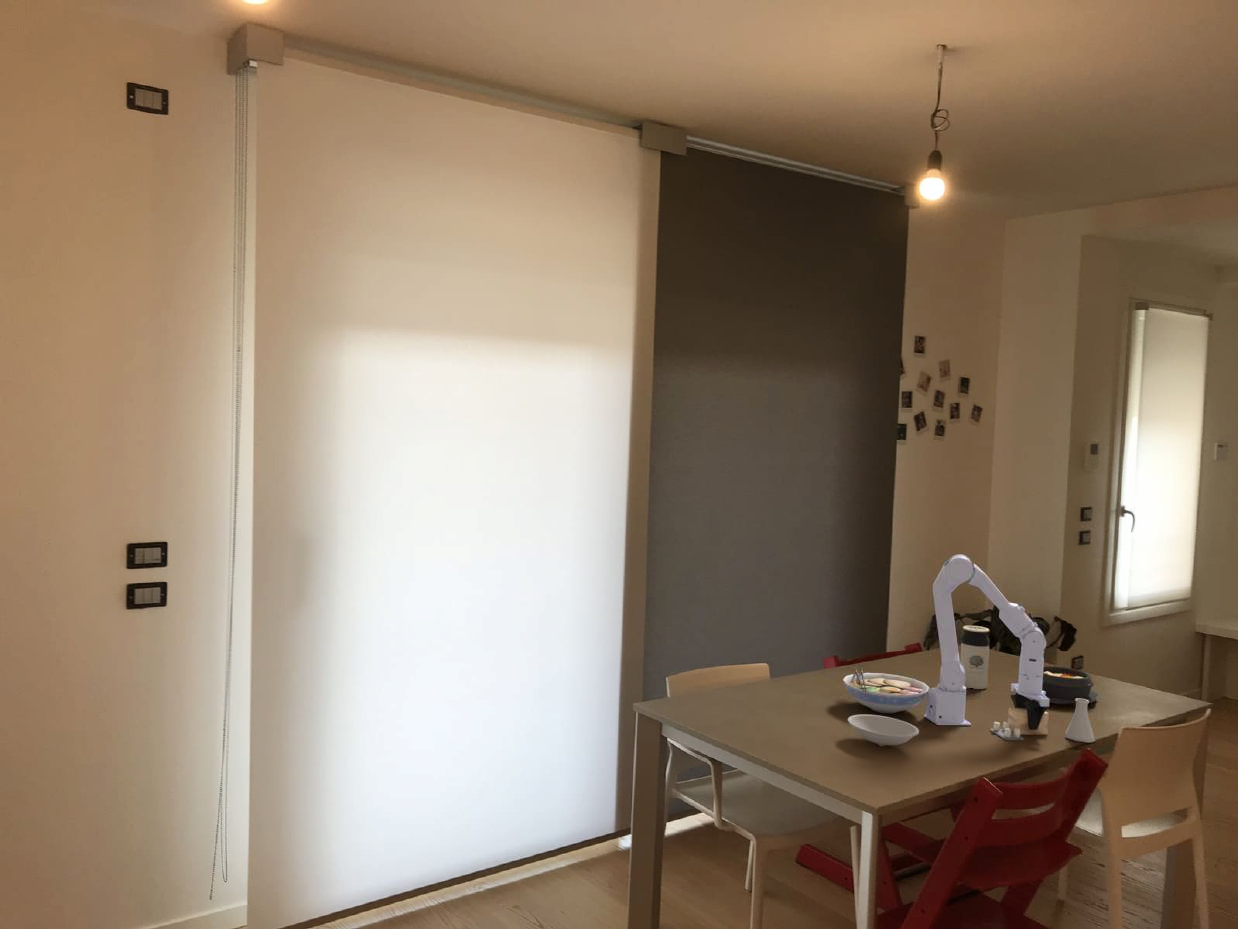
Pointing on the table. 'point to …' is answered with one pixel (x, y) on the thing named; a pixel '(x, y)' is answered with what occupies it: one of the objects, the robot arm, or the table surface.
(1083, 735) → the flask
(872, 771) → the table surface
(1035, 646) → the robot arm
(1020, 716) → the wooden block
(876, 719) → the dish
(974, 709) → the table surface
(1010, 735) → the peg stand
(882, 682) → the ramen bowl
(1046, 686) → the casserole
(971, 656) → the travel mug
